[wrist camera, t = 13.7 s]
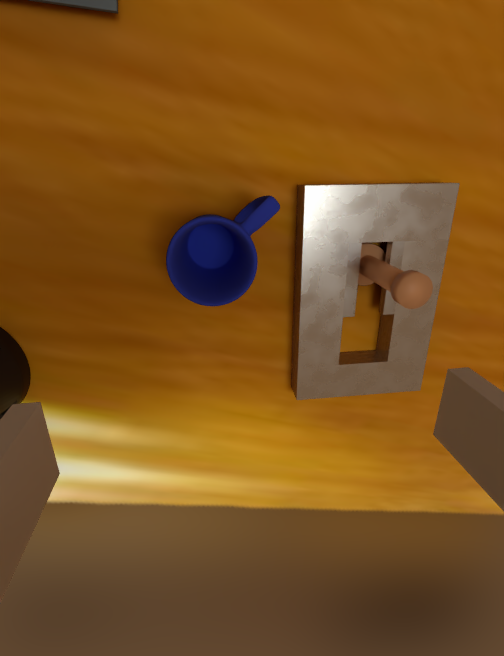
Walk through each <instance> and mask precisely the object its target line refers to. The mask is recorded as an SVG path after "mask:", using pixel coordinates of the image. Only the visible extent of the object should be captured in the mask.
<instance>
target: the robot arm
mask: <svg viewBox="0 0 504 656" xmlns="http://www.w3.org/2000/svg"><path fill="white" fill-rule="evenodd" d="M29 385H30V369H29V365H28V362H27V359H26V357H25V355H24V353H23V351H22V349H21V348H20V346H19V345H18V344H17V342H16V341H15V340H14V339H13V338H12V337H11V336H10V335H9V334H8V333H7V332H5V331H4V330H3V329H2V328H0V603H1V600H2V598H3V596H4V594H5V592H6V590H7V587H8V585H9V583H10V581H11V579H12V576H13V574H14V572H15V570H16V568H17V566H18V563H19V561H20V559H21V557H22V554H23V553H24V550H25V548H26V546H27V544H28V541H29V539H30V537H31V535H32V533H33V531H34V528H35V526H36V524H37V522H38V520H39V518H40V515H41V513H42V511H43V509H44V507H45V505H46V502H47V500H48V498H49V496H50V494H51V491H52V489H53V487H54V485H55V483H56V481H57V478H58V476H59V474H60V473H59V470H58V466H57V462H56V458H55V455H54V451H53V447H52V444H51V440H50V436H49V433H48V429H47V425H46V421H45V418H44V414H43V410H42V407H41V403H40V402H35V403H23V404H20V403H21V402H22V400H23V399H24V397H25V396H26V394H27V392H28V389H29ZM433 435H434V436H435V437H436V438H437V439H438V440H439V441H440V442H441V443H442V445H443V446H444V447H445V448H446V449H447V450H448V451H449V452H450V453H451V454H452V455H453V457H454V458H455V459H456V460H457V461H458V462H459V463H460V464H461V465H462V466H463V467H464V468H465V470H466V471H467V472H468V473H469V474H470V475H471V476H472V477H473V478H474V479H475V480H476V482H477V483H478V484H479V485H480V486H481V487H482V488H483V489H484V490H485V491H486V492H487V493H488V495H489V496H490V497H491V498H492V499H493V500H494V501H495V502H496V503H497V504H498V505H499V507H500V508H501V509H502V510H503V511H504V392H503V391H501V390H500V389H498V388H497V387H496V386H494V385H493V384H491V383H490V382H488V381H487V380H486V379H484V378H483V377H481V376H480V375H478V374H477V373H476V372H474V371H473V370H471V369H470V368H455V369H448V371H447V375H446V380H445V384H444V389H443V393H442V398H441V402H440V407H439V411H438V416H437V420H436V425H435V429H434V433H433Z"/></svg>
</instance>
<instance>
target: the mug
mask: <svg viewBox="0 0 504 656" xmlns="http://www.w3.org/2000/svg"><path fill="white" fill-rule="evenodd" d="M279 209H280V205H279V203H278V202H277V201H276V199H275V198H274V197H272V196H263V197H259V198H257V199H255V200H254V201H252V202H251V203H249V204H248V205H247V206H246V207H245V208H244V209H243V210H242V211H241V212H240V213H239V214H238V215H237V216H236V217H235V219H234V221H232V220H229V219H227V218H224V217H221V216H218V215H211V214H209V215H202V216H199V217H197V218H195V219H193V220H191V221H189V222H188V223H186V224H185V225H183V226H182V227H181V228H180V229H179V230H178V231H177V232H176V233H175V235H174V236H173V238H172V239H171V241H170V244H169V246H168V250H167V256H166V265H167V271H168V274H169V277H170V279H171V282H172V283H173V285H174V286H175V288H176V289H177V290H178V291H179V292H180V293H181V294H182V295H183V296H184V297H186V298H187V299H189V300H190V301H192V302H195V303H197V304H200V305H205V306H220V305H225V304H228V303H230V302H233V301H234V300H236V299H238V298H239V297H240V296H242V295H243V294H244V293H245V292H246V291H247V290H248V288H249V287H250V285H251V284H252V282H253V280H254V277H255V274H256V270H257V253H256V249H255V246H254V244H253V242H252V240H251V237H250V236H251V234H252V233H254V232H255V231H257V230H258V229H259V228H260V227H261V226H263V225H264V224H265V223H266V222H267V221H268V220H269V219H270V218H271V217H272V216H273V215H274V214H276V213H277V212H278V211H279Z"/></svg>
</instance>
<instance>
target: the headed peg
mask: <svg viewBox="0 0 504 656" xmlns="http://www.w3.org/2000/svg"><path fill="white" fill-rule="evenodd" d="M385 258H386V255H385V253H384V251H383V250H382V249H381V248H380V247H379V246H377V245H374V244H372V243H368V242H366V243H362V246H361V256H360V266H359V276H358V285H370V284H372V283H374V282H375V283H376V284H378V285H380V286H381V287H383V288H385V289H386V290H388V291H389V292H391V296H392V298H393V299H394V301H396V302H397V303H399V304H400V305H402V306H403V307H405V308H408V309H416V308H419V307H421V306H423V305H424V304H425V303H426V302H427V301H428V300H429V298H430V297H431V295H432V291H433V284H432V281H431V279H430V278H429V277H428V276H426V275H424V274H422V273H420V272H418V271H415V270H407V271H402V270H400V269H398V268H396V267H394V266H392V265H390V264H388V263H386V262H385Z"/></svg>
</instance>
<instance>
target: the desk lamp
mask: <svg viewBox="0 0 504 656" xmlns="http://www.w3.org/2000/svg"><path fill="white" fill-rule="evenodd" d="M29 1H36V2H43V3H49V4H56V5H63V6H70V7H77V8H84V9H90V10H97V11H104V12H111V13H118V0H29Z"/></svg>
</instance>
